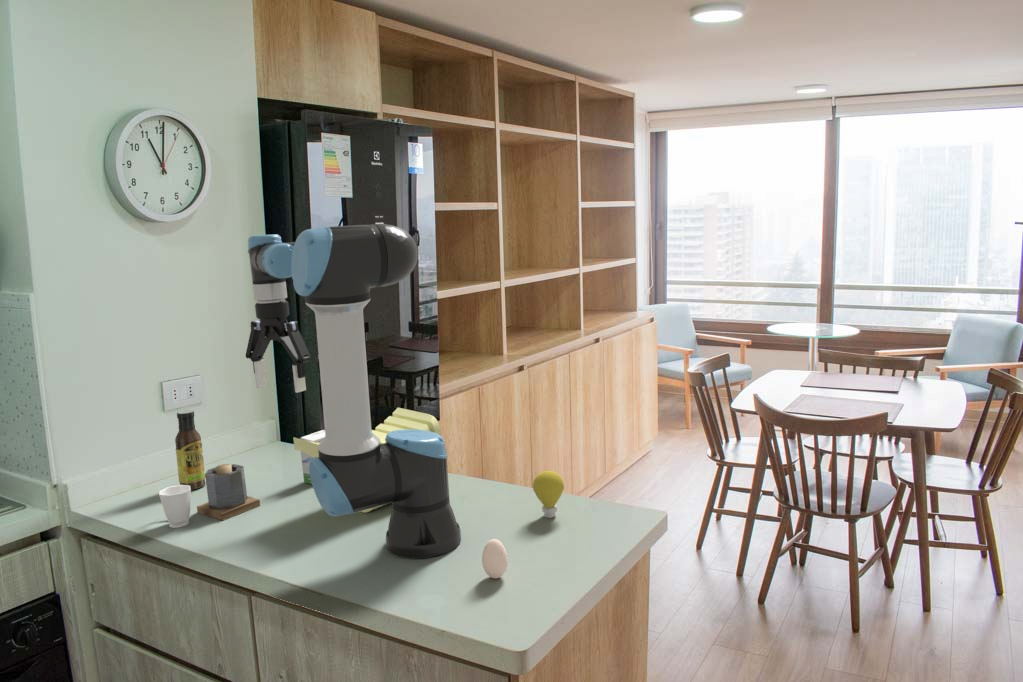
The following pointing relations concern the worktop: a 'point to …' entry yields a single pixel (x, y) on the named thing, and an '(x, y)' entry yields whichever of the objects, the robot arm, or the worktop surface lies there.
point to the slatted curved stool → (384, 431)
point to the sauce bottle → (189, 452)
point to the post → (227, 513)
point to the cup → (176, 504)
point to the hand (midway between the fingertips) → (281, 389)
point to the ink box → (306, 458)
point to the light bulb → (548, 491)
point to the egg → (494, 559)
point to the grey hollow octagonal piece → (226, 488)
